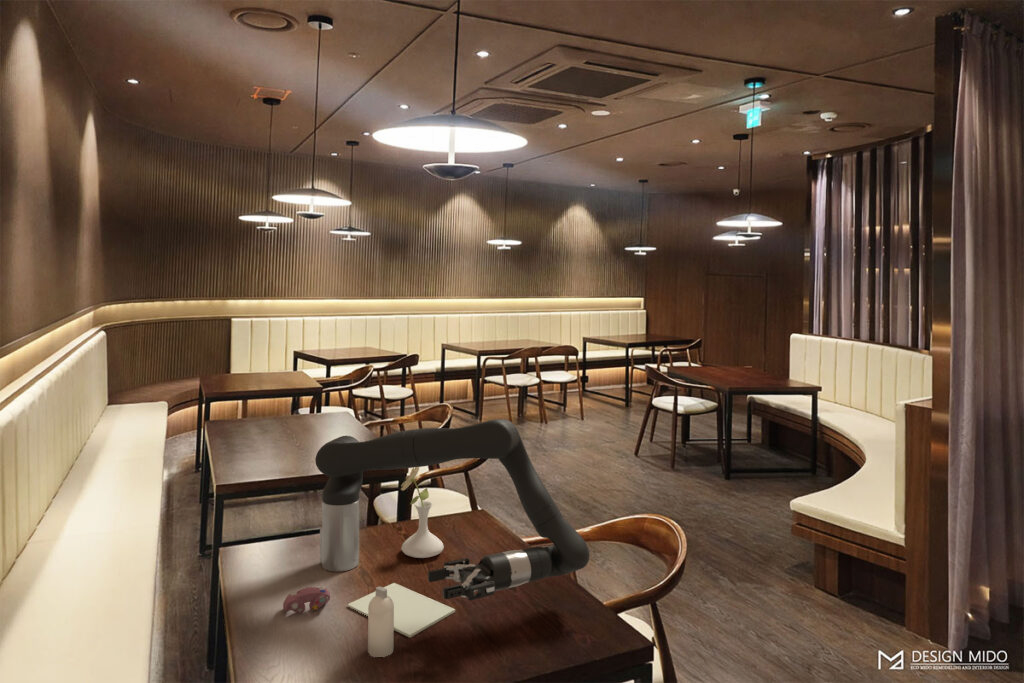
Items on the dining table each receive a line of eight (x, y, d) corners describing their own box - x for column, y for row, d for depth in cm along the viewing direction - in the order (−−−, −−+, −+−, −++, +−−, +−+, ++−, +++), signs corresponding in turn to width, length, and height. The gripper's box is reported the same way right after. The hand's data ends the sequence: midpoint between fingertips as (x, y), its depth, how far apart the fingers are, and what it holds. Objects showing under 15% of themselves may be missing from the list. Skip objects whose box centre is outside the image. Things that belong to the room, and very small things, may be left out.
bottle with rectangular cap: (362, 651, 130) (363, 589, 129) (381, 641, 134) (382, 580, 133) (379, 660, 127) (380, 597, 126) (398, 649, 131) (399, 587, 130)
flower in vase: (421, 541, 186) (423, 455, 184) (452, 552, 179) (454, 462, 177) (387, 556, 175) (389, 465, 173) (418, 568, 169) (420, 473, 166)
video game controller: (284, 623, 143) (286, 602, 140) (281, 606, 146) (283, 585, 143) (330, 614, 148) (333, 593, 144) (326, 597, 151) (329, 577, 148)
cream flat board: (347, 606, 148) (347, 604, 148) (393, 585, 159) (393, 582, 159) (409, 637, 136) (409, 635, 136) (455, 611, 147) (455, 609, 147)
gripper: (491, 541, 148) (423, 554, 141) (521, 565, 136) (448, 581, 128) (490, 573, 149) (423, 588, 141) (520, 600, 137) (448, 618, 129)
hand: (435, 585), depth 135 cm, fingers open, 8 cm apart
